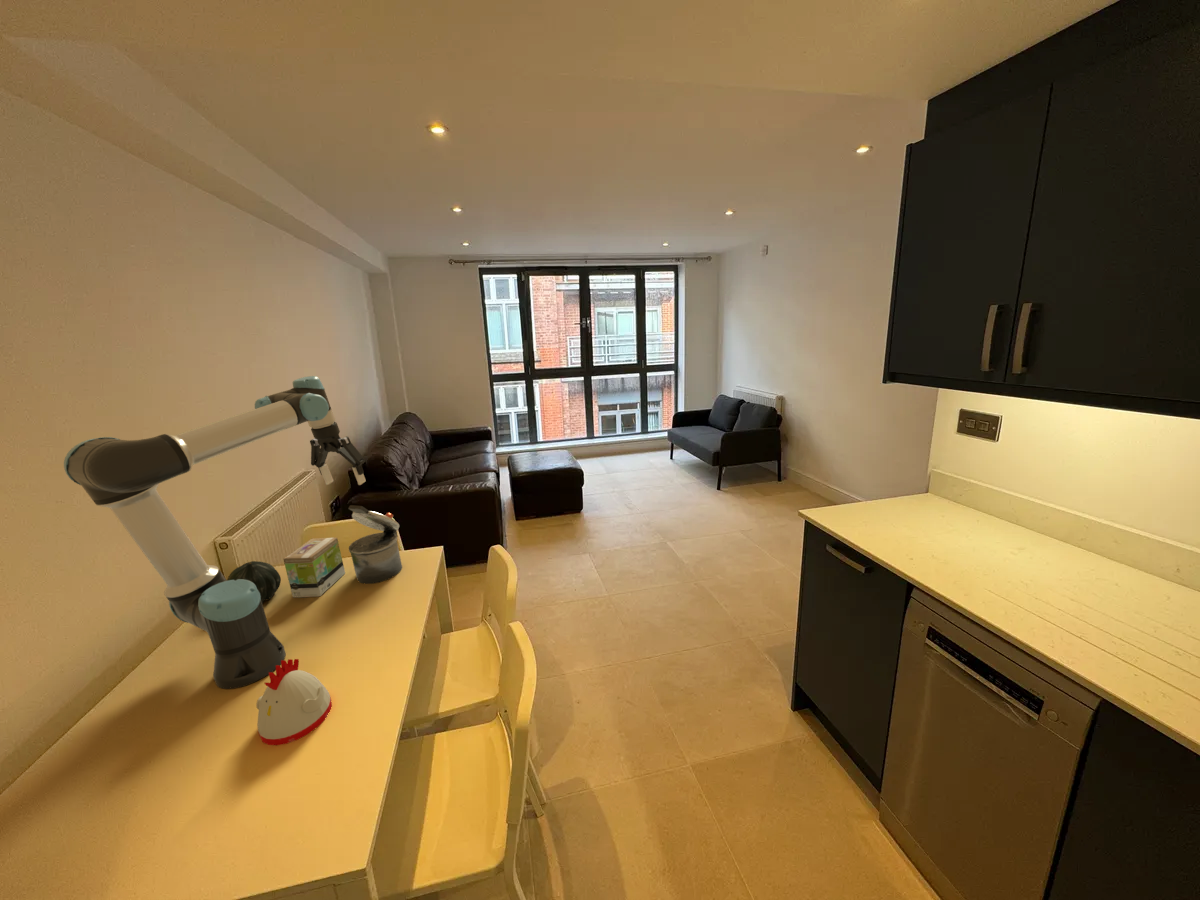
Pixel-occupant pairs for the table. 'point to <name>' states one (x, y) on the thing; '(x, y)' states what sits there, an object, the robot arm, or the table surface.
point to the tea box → (314, 567)
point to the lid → (374, 519)
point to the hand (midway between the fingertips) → (346, 483)
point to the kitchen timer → (291, 704)
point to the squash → (259, 577)
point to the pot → (376, 557)
